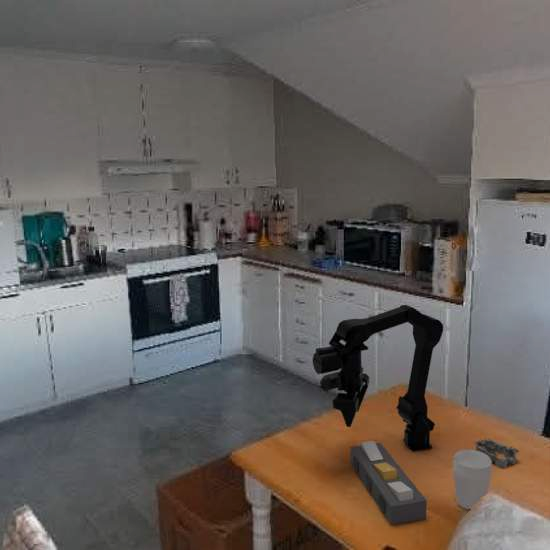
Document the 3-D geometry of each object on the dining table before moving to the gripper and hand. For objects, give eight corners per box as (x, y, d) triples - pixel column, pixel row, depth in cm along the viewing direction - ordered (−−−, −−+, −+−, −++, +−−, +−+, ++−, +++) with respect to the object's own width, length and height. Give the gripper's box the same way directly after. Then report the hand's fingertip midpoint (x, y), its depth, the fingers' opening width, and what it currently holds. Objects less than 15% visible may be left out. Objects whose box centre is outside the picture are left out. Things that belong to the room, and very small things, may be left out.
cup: (446, 493, 143) (447, 450, 141) (480, 490, 144) (482, 448, 141) (460, 515, 135) (462, 470, 132) (496, 512, 135) (499, 467, 133)
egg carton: (519, 463, 156) (520, 450, 155) (499, 470, 153) (500, 457, 152) (491, 446, 165) (491, 433, 164) (471, 452, 162) (471, 439, 162)
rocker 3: (401, 490, 140) (400, 480, 140) (413, 499, 133) (412, 489, 133) (387, 492, 140) (386, 483, 140) (399, 501, 133) (398, 492, 133)
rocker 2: (386, 470, 149) (385, 462, 149) (397, 478, 142) (396, 469, 142) (374, 472, 148) (373, 464, 148) (384, 480, 141) (383, 471, 141)
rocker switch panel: (380, 458, 160) (380, 442, 159) (426, 518, 134) (426, 500, 133) (349, 463, 159) (349, 447, 158) (390, 525, 132) (390, 506, 131)
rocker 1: (373, 446, 158) (373, 440, 157) (382, 465, 152) (383, 458, 150) (360, 448, 157) (361, 442, 156) (370, 467, 151) (370, 460, 150)
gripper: (331, 352, 164) (333, 401, 168) (312, 377, 148) (315, 431, 151) (369, 355, 160) (370, 405, 164) (354, 381, 143) (355, 436, 147)
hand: (352, 418), depth 157 cm, fingers open, 9 cm apart
